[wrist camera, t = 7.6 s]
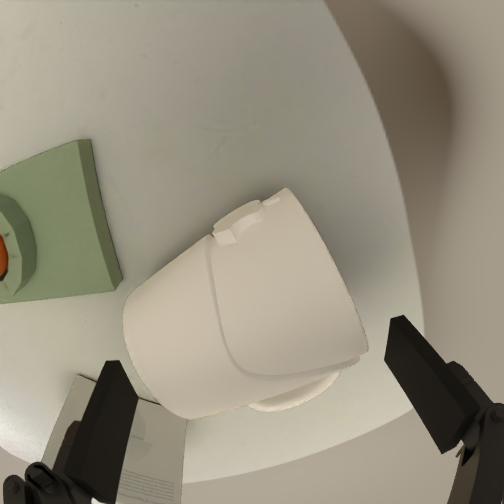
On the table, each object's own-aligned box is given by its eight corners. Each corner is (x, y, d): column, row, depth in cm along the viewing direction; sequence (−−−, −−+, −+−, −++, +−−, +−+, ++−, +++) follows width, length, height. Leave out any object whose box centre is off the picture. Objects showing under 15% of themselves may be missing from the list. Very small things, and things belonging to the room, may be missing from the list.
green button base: (90, 139, 15) (61, 140, 11) (123, 278, 18) (104, 306, 15) (-27, 189, 14) (-57, 199, 11) (4, 294, 18) (-18, 316, 14)
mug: (137, 255, 17) (87, 331, 10) (274, 176, 16) (313, 207, 9) (235, 380, 22) (241, 467, 14) (347, 327, 21) (392, 406, 13)
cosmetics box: (76, 410, 22) (46, 493, 13) (77, 372, 21) (33, 468, 11) (173, 444, 25) (165, 532, 15) (190, 412, 23) (183, 518, 13)
